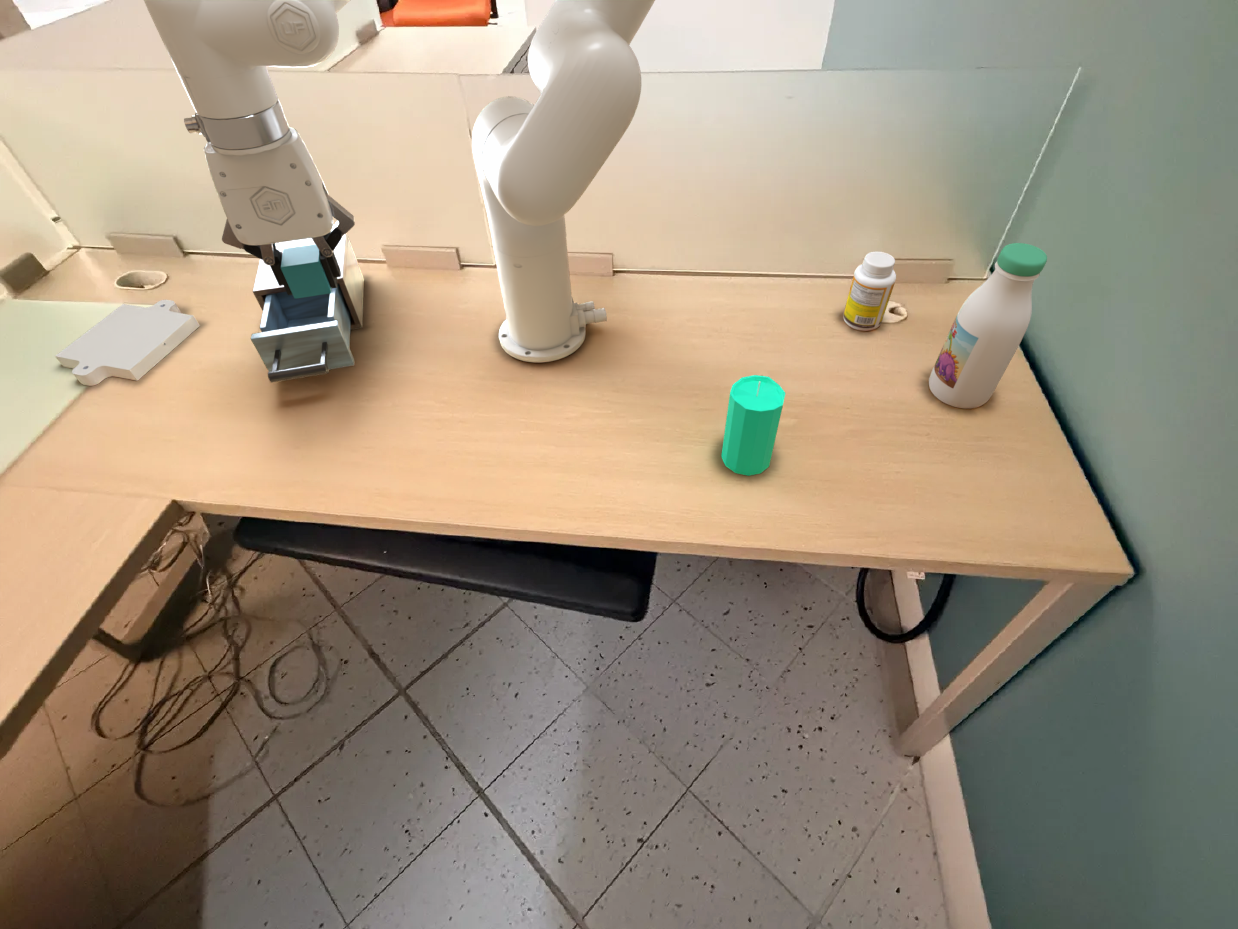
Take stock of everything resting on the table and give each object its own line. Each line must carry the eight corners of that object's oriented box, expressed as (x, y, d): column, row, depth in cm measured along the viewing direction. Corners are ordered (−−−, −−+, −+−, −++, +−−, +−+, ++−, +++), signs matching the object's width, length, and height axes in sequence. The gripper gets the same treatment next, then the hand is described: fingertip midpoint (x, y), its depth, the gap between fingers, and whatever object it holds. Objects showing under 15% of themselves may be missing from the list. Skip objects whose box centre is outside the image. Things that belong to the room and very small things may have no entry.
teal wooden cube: (332, 274, 80) (320, 243, 77) (331, 293, 77) (318, 261, 74) (296, 280, 79) (282, 248, 76) (294, 299, 77) (280, 267, 73)
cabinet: (362, 328, 98) (342, 278, 91) (278, 341, 96) (252, 291, 90) (364, 279, 107) (346, 230, 100) (287, 290, 105) (263, 241, 98)
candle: (739, 482, 76) (752, 408, 67) (711, 449, 80) (720, 374, 71) (781, 464, 78) (799, 389, 69) (752, 432, 81) (766, 357, 72)
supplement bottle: (864, 306, 98) (883, 244, 91) (889, 326, 95) (910, 263, 87) (834, 315, 97) (850, 253, 89) (857, 336, 93) (876, 273, 86)
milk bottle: (991, 379, 87) (1065, 242, 72) (987, 417, 82) (1064, 278, 67) (931, 365, 89) (990, 228, 74) (923, 400, 84) (984, 262, 69)
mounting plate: (124, 392, 89) (115, 382, 88) (49, 377, 92) (39, 367, 90) (210, 316, 101) (204, 305, 99) (142, 304, 103) (135, 294, 102)
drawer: (353, 393, 87) (335, 352, 82) (267, 407, 85) (244, 367, 80) (356, 313, 99) (341, 274, 94) (281, 325, 97) (262, 286, 92)
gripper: (146, 150, 61) (235, 314, 74) (333, 129, 63) (386, 291, 77) (161, 120, 66) (243, 279, 79) (334, 101, 68) (384, 258, 82)
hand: (312, 283), depth 78 cm, fingers closed on teal wooden cube, 4 cm apart
